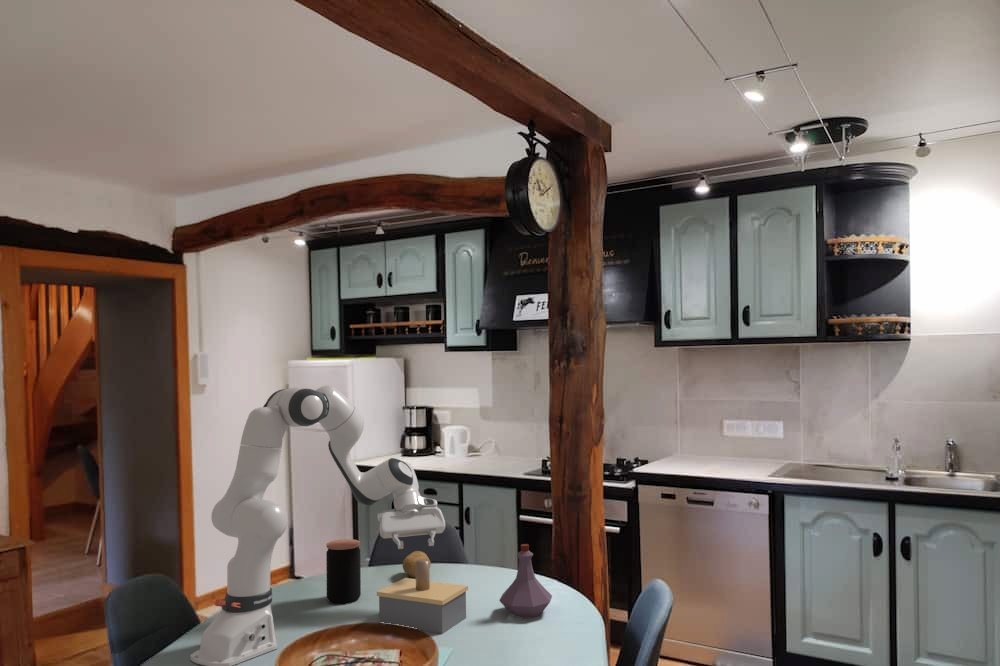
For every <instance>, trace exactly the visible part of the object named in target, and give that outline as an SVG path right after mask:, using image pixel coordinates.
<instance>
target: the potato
mask: <svg viewBox="0 0 1000 666" xmlns="http://www.w3.org/2000/svg"><path fill="white" fill-rule="evenodd" d="M429 558H430V557H428V555H427V553H425V552H424V551H420V550H415V551H413V552H411V553H410V554H409V555H408V554H407V556H406V557H405V558H404V559H403V561H402V569H403V572H404V573H405V574H407V575H408V576H409V577H410V578H413V579H416V560H419V559H427V560H429V569H431V564H432V562H431V560H430V559H429Z"/></svg>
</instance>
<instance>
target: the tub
mask: <svg viewBox="0 0 1000 666" xmlns="http://www.w3.org/2000/svg"><path fill="white" fill-rule="evenodd" d="M378 600H379V601H378V602H379V603H378V607H379V608H378V610H379V611H378V613H379V614H378V615H379V619H378V620H379V622H384V623H391V624H399V625H404V626H409V627H414V628H417V629H420V630H419V631H422V630H423V631H424V632H429V633H435V634H442V635H443V634H444V633H446V632H447V631H449V630H450V629H452V628H453V627H455V626H456V625H457V624H459V623H461V622H462V621H463V620H465V619H466V618H467V591H465V592H464V593H462V594H460V595H459V596H457V597H455V598H454V599H452V600H450V601H449V602H447V603H445V604H444V605H438V604H431V603H424V602H417V601H410V600H403V599H396V598H389V597H381V596H378Z"/></svg>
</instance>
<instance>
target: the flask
mask: <svg viewBox="0 0 1000 666" xmlns="http://www.w3.org/2000/svg"><path fill="white" fill-rule="evenodd" d="M529 547H530V544H529V543H523V544H520V549H521V550H520V551H519V552H518V553H517V554H516V556H517V559H518V567H517V568H518V569H517V572H516V577H515V579H514V580H513V581H512V583H511V584H510V585H509V586H508V588H506V589H505V591H504V592H503V593H502V595H501V597H500V598H499V602H500V603H501V604H502V606H503V607H504V608H505V609H506V610H507V611H508V612H509V614H511V615H512V616H515V617H517V618H535V617H539V616H540V615H541V614H543V612H544V611H545V609H546V608H547V607H548V605H549V604H551V601H552V597H553V594H551V593H550V592H549V591H548V590H547V589H546V588H545V587H544V585H543V584H541V583H540V581H539V580H538V579H537V578H536V575H535V572H534V569H533V564H532V558H533V556H534V553H533V552H531V551H530V550H529Z"/></svg>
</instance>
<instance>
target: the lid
mask: <svg viewBox="0 0 1000 666" xmlns="http://www.w3.org/2000/svg"><path fill="white" fill-rule="evenodd" d="M429 560H430V559H429ZM429 560H427V559H419V560H416V578H411V577H410V578H408V577H404V578H402V579H400V580H398V581H395V582H394V583H391V584H389V585H388V586H385V587H383V588H381V589H379V590H378V591H376V596H377V597H379V596H381V597H389V598H396V599H403V600H410V601H417V602H424V603H431V604H438V605H444V604H445V603H447V602H449V601H450V600H452V599H454V598H455V597H457V596H459V595H460V594H462V593H464V592H465V591H466V592H467V591H469V586H468V585H465V584H457V583H449V582H441V581H433V580H431V579H430V576H431V575H430V568H429Z"/></svg>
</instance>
